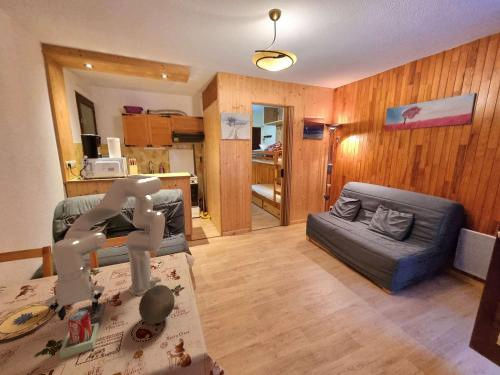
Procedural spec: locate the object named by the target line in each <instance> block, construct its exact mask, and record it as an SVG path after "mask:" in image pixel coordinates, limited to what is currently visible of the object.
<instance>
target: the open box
mask: <svg viewBox="0 0 500 375" xmlns="http://www.w3.org/2000/svg"><path fill="white" fill-rule="evenodd" d="M105 303H106V302H98V304H99V306H98V308H97V309H96V312H98V313H97V315H96V316H95V315H94V316H91V317H90V322H91V329H92V336H91V339H90V341H87V342H83V343H80V344H76V345H73V346H72V345H71V338H70V332H69V331H68V332H67V334H66V337H65V339H64V341H63V343H62V346H61V348H60V350H59V356H60V360H62V359H65V358H67V357H71V356H74V355H78V354H80V353H85V352H87V351H91V350H93V349H94V348H95V345H96V341H97V338H98V334H99V330H100V328H101V324H102V321H103V318H104V313H105V310H106V305H105ZM80 310H87V311H88V313H89V314H91V313H94V312H93V308H92V304H91V305H87V306H83V307H78V310H77V311H80Z"/></svg>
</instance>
